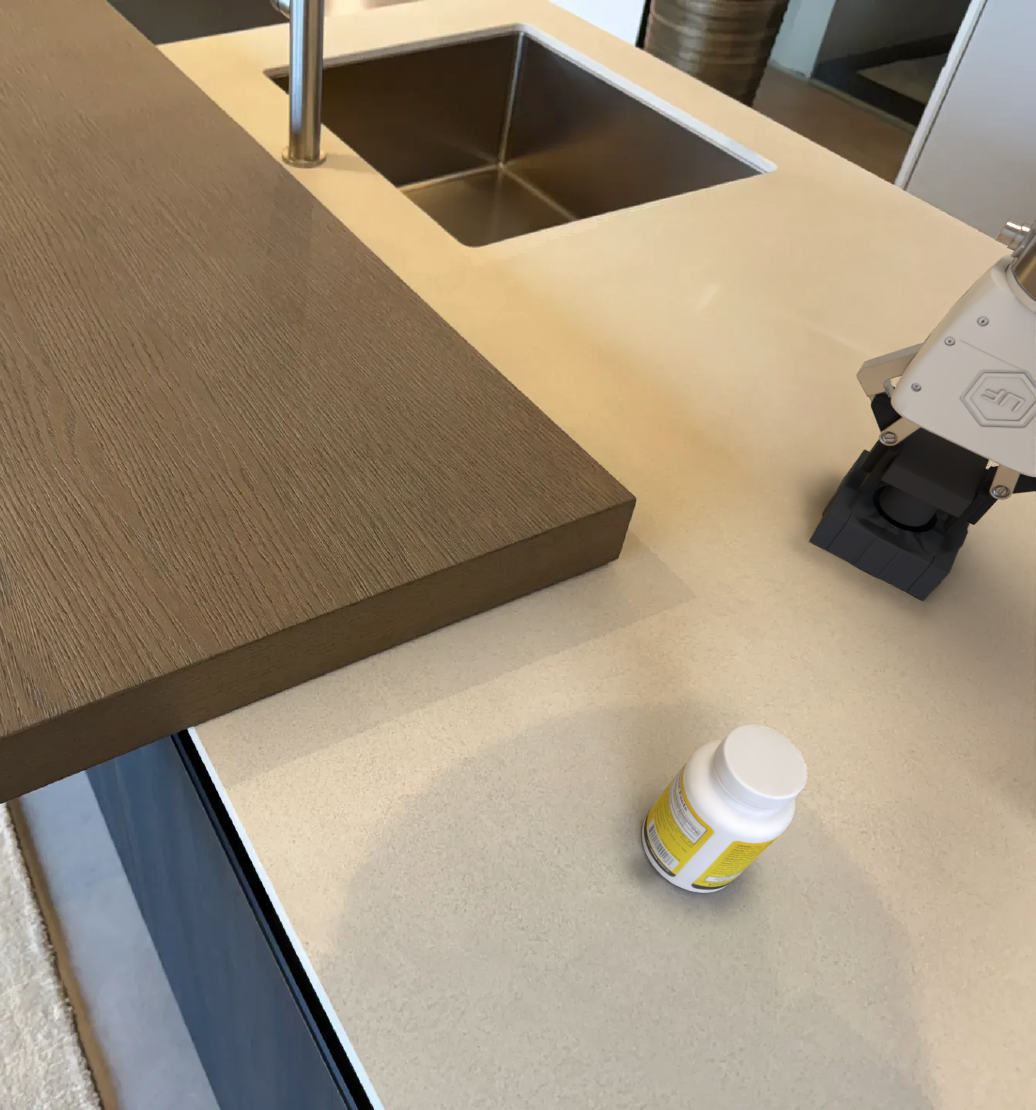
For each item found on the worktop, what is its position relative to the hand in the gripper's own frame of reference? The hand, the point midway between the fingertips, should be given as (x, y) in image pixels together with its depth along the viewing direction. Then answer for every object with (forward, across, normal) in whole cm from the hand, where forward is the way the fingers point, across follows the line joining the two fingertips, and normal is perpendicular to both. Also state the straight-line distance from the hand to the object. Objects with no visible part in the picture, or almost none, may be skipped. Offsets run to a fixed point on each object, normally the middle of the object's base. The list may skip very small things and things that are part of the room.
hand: (911, 498), depth 70 cm
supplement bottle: (+4, -2, -31) cm, 31 cm away
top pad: (+1, 0, 0) cm, 1 cm away
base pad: (+4, 0, 0) cm, 4 cm away
